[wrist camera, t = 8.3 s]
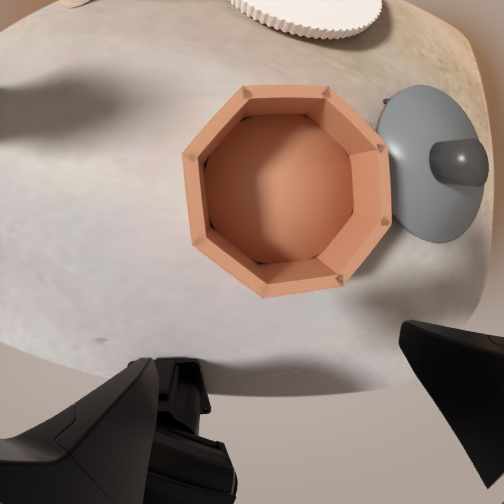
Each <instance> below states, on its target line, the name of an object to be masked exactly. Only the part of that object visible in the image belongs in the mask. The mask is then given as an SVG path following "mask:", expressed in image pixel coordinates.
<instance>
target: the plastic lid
mask: <svg viewBox="0 0 504 504" xmlns="http://www.w3.org/2000/svg"><path fill="white" fill-rule="evenodd" d="M229 1H231V4H232V5H236V8H237V9H241V12H242V13H246V14H247V16H248V17H250V16H251V17H253V20H259V21H260V23H261V24H264V23H265V24H267V26H268V27H271V26H272V27H274V28H275V29H276V30H279V29H280V30H282V31H283V32H285V33H286V32H290V34H293V35H294V34H298V36H303V35H304V36H306V37H307V38H310V37H314V38H315V39H318V37H319V38H321V39H325V38H328V39H333V38H335V39H339V38H340V37H341V38H345V37H346V36H347V37H351V36H352V35H353V36H354V35H356V34H357V33H358V34H359V33H361V32H363V31H364V30H365V29H367V28H368V27H369V26H370V25H371V24H372V23H373V22H374V21H375V20H376V19H377V18H378V16H379V15H380V14H379V13H380V12H381V9H382V6H381V5H382V3H381V1H382V0H229Z"/></svg>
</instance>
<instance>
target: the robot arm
mask: <svg viewBox="0 0 504 504" xmlns="http://www.w3.org/2000/svg"><path fill="white" fill-rule="evenodd" d="M399 346H400V348H401V350H402V352H403V353H404V355H405V357H406V359H407V360H408V362H409V364H410V366H411V368H412V369H413V371H414V373H415V375H416V376H417V378H418V379H419V380H420V382H421V383H422V385H423V386H424V388H425V389H426V390H427V392H428V393H429V395H430V396H431V398H432V399H433V401H434V402H435V404H436V405H437V407H438V408H439V410H440V411H441V413H442V414H443V416H444V417H445V419H446V420H447V422H448V423H449V425H450V426H451V428H452V430H453V431H454V433H455V434H456V436H457V438H458V439H459V441H460V443H461V444H462V446H463V447H464V449H465V450H466V453H467V455H468V456H469V458H470V459H471V461H472V463H473V465H474V467H475V468H476V470H477V472H478V474H479V475H480V477H481V479H482V481H483V483H484V484H485V486H486V487H487V489H489V488H490V487H491V486H492V485H493V484H494V483H495V482H496V481H497V480H499V479H500V478H501V477H502V476H503V475H504V337H499V336H493V335H486V334H482V333H476V332H470V331H465V330H460V329H455V328H450V327H445V326H440V325H435V324H430V323H426V322H421V321H416V320H408V321H405V322H403V323H402V325H401V330H400V336H399ZM192 364H194V365H196V366H192ZM210 412H211V406H210V402H209V398H208V395H207V391H206V387H205V383H204V379H203V375H202V371H201V367H200V363H199V362H198V361H197V360H195V359H188V360H153V359H152V358H140V359H138V360H137V361H132V362H129V364H128V366H127V368H125V369H124V370H123V371H121V372H120V373H118V374H117V375H115V376H114V377H112V378H111V379H109V380H108V381H107V382H105V383H104V384H102V385H101V386H99V387H98V388H96V389H95V390H94V391H92V392H90V393H89V394H88V395H86V396H84V397H83V398H82V399H80V400H79V401H77V402H76V403H74V405H73V404H72V405H71V406H69V407H68V408H67V409H65V410H63V411H62V412H60V413H59V414H57V415H55V416H54V417H52V418H50V419H48V420H46V421H45V422H43V423H41V424H39V425H37V426H35V427H33V428H31V429H29V430H27V431H25V432H24V433H21V434H19V435H17V436H15V437H12V438H8V439H0V504H233V503H234V501H235V499H236V491H237V484H238V483H237V476H236V473H235V471H234V468H233V465H232V463H231V460H230V458H229V455H228V453H227V450H226V447H225V445H224V443H222V442H219V441H216V442H215V441H212V440H209V439H206V438H203V437H200V436H199V421H200V414H209V413H210ZM502 504H504V502H503V503H502Z"/></svg>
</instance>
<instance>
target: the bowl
mask: <svg viewBox="0 0 504 504" xmlns="http://www.w3.org/2000/svg"><path fill="white" fill-rule="evenodd" d="M304 116H305V117H304ZM244 118H247V119H245V120H243V119H244ZM242 120H243V121H242ZM241 121H242V122H241ZM182 159H183V170H184V180H185V190H186V199H187V208H188V216H189V224H190V232H191V239H192V245H193V246H194V247H195V248H197V249H198V250H199V251H200V252H202V253H203V254H204V255H206V256H207V257H208V258H210V259H211V260H212V261H214V262H215V263H216V264H218V265H219V266H220V267H221V268H223V269H224V270H225V271H227V272H228V273H229V274H231V275H232V276H233V277H235V278H236V279H237V280H239V281H240V282H241V283H243V284H244V285H246V286H247V287H248V288H250V289H251V290H252V291H254V292H255V293H256V294H258V295H259V296H260V297H262V298H266V297H274V296H281V295H289V294H296V293H303V292H309V291H316V290H322V289H329V288H335V287H341V286H343V285H344V284H345V283H346V282H347V281H348V279H349V278H350V277H351V276H352V275H353V273H354V272H355V271H356V270H357V269H358V267H359V266H360V265H361V264H362V262H363V261H364V260H365V259H366V257H367V256H368V255H369V254H370V252H371V251H372V250H373V249H374V247H375V246H376V245H377V243H378V242H379V241H380V239H381V238H382V237H383V235H384V234H385V233H386V231H387V230H388V229H389V227H390V226H391V225H392V213H391V185H390V170H389V158H388V148H387V144H386V143H385V142H384V141H383V140H382V138H381V137H380V136H379V135H378V134H377V133H376V132H375V131H374V130H373V129H372V128H371V127H370V126H369V125H368V123H367V122H366V121H365V120H364V119H363V118H362V117H361V116H360V115H359V114H358V113H357V112H356V111H355V110H354V109H353V108H352V107H351V106H350V105H348V104H347V103H346V102H345V101H344V100H343V99H342V98H341V97H340V96H339V95H338V94H337V93H336V92H334V91H333V90H332V89H331V88H330V87H329V86H311V85H255V86H242V87H241V88H240V89H239V90H238V91H237V92H236V93H235V94H234V95H233V96H232V97H231V98H230V99H229V100H228V102H227V103H226V104H225V105H224V106H223V107H222V108H221V109H220V110H219V111H218V112H217V113H216V114H215V116H214V117H213V118H212V119H211V120H210V121H209V122H208V123H207V124H206V126H205V127H204V128H203V129H202V130H201V131H200V132H199V134H198V135H197V136H196V137H195V138H194V139H193V141H192V142H191V143H190V144H189V145H188V147H187V148H186V149H185V150H184V152H183V153H182ZM208 159H209V160H208ZM207 160H208V162H207V165H206V169H204V164H205V163H206V161H207ZM210 220H211V222H212V224H213V226H214V228H215V229H216V230H215V229H214V228H213V227H211V225H210ZM256 261H258V262H261V263H257V262H256Z"/></svg>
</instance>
